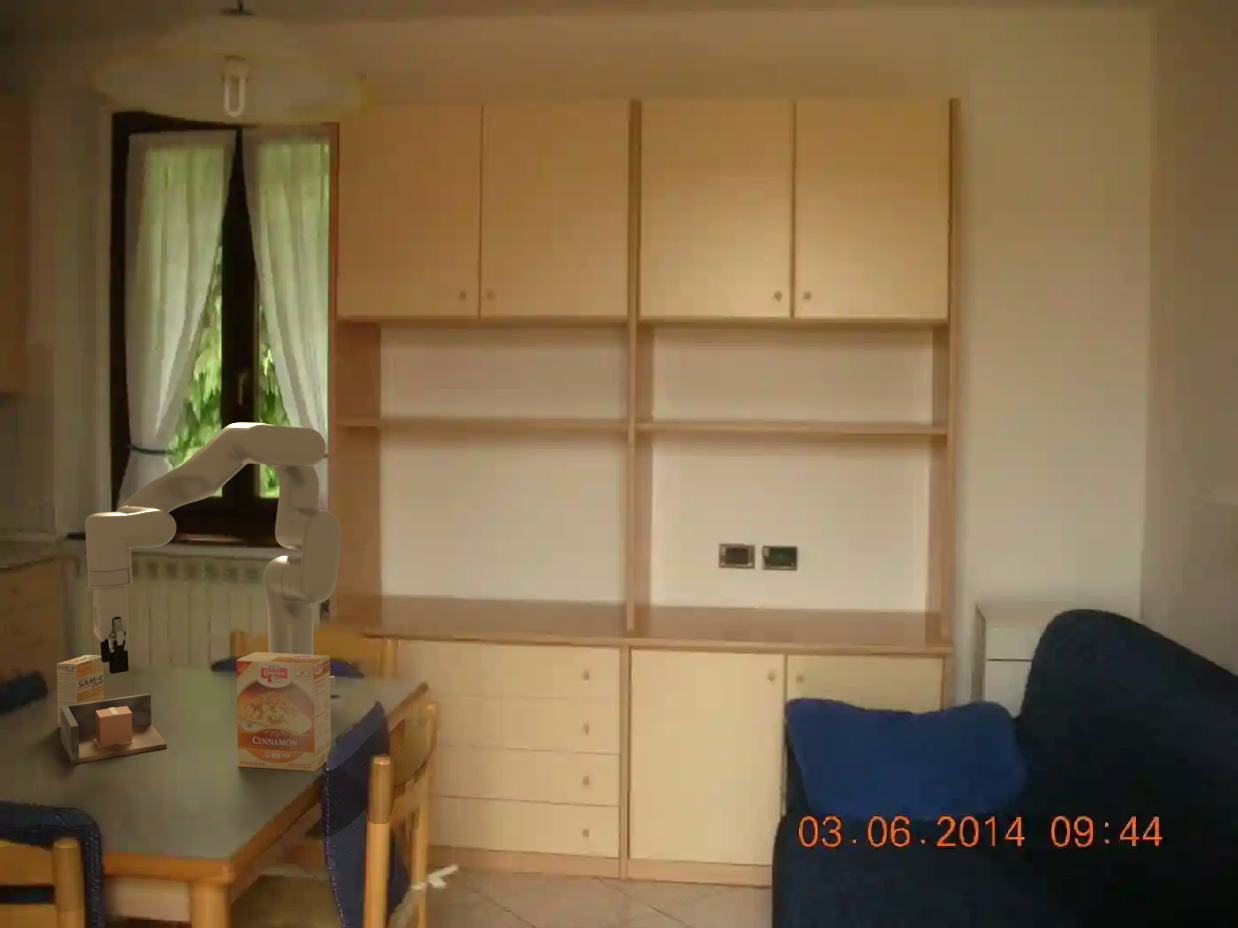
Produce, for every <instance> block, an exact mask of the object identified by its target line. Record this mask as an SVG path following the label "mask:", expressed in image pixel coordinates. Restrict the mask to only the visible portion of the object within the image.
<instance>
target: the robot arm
mask: <svg viewBox="0 0 1238 928" xmlns="http://www.w3.org/2000/svg"><path fill="white" fill-rule="evenodd" d="M326 449H327V445H326V442H325V438H324V437H323V436H322V434H321V433H320V432H319V431H317V430H316V429H314V428H311V427H304V426H303V427H301V426H300V427H299V426H288V425H287V426H286V425H278V424H269V423H268V424H267V423H262V422H261V423H260V422H235V423H230V424H228V425H226V426H225V427H224V428H222V429H221V430H220V431H219V432H218V433H217V434H216V435H214V436H213V437H212V438H211V439H210V440H208V442H207V443H206V444H204V445H203V446H202V447H200V449H199V450H197V451H196V452H195V453H194V454H193V455H192V456H191V457H190V458H188V459H187V460H186V461H184V462H183V463H182V464H180V465H179V466H177V467H176V468H173V469H172V470H170V471H168V472H167V473H165V474H163V475H161V476H159V477H157V478H155V479H154V480H152V481H150V482H149V483H147V484H145V485H144V486H143V487H141V488H140V489H138V490H137V491H136V492H135V493H134V494H132V495H131V496H130V497H129V498H128V499H127V500H126V501H124V503H122V504H121V505H120V506H119V507H118V508H117V509H116V510H115V511H111V512H110V511H109V512H108V511H105V512H96V513H93V514H89V515H88V516H87V518H85V522H84V527H85V546H86V564H87V567H86V568H87V582H88V583H87V585H88V588H89V589H93V594H92V595H93V596H92V597H93V599H92V600H93V601H92V602H93V603H92V604H93V605H92V607H93V633H94V635H95V636H96V637H97V639H98V640H99V641H100V656H101V661H102V662H103V663H108V665H109V666H108V668H109V669H108V671H109V673H110V674H120V673H126V672H129V668H130V667H129V650H128V644H127V638H128V637H129V633H130V630H129V629H130V627H129V624H130V623H129V606H128V603H129V602H128V592H127V591H128V589H127V587H128V586H131V585H133V567H132V549H133V548H158V547H162V546H165V545H166V544H168V543H169V542H170V541H171V540H172V539H173V538H174V536H175V535H176V532H177V523H176V520H175V518H174V517H173V516H172V515H171V514H170V512H171V511H173V510H175V509H178V508H179V507H181V506H185V505H188V504H191V503H194V502H197V501H201V500H205V499H207V498H209V497H211V496H213V495H215V494H216V493H217V492H218V491H219V490H221V488H222V487H224V486H225V484H226V483H228V481H230V480H231V479H232V478H234V476H235V475H236V474H238V472H240V471H241V470H242V469H243V468H244V467H245V466H247V465H248V464H250V465H251V464H253V465H269V466H271V468H272V469H273V471H274V473H275V474H276V477H277V479H278V483H279V485H278V486H279V490H278V503H277V511H276V519H275V526H274V527H275V529H274V535H275V540H276V542H277V543H278V544H279V545H280V546H281V547H283V548H285V549H287V550H294V551H301V556H296V555H281V556H279V557H275V558H273V559H272V560H271V561H269V563H268V564H267V565H266V567H264V568H265V569H264V570H263V574H262V586H263V591H264V596H265V601H266V607H267V609H266V610H267V627H268V630H267V640H268V643H267V647H268V651H267V653H287V654H307V655H314V617H313V615H314V614H313V610H312V607H311V604H314V605H315V604H321V603H323V602H326V600H328V599H329V598H330V597H331V596H332V594H333V593H334V591H335V589H336V585H337V580H338V575H339V566H340V557H341V549H342V539H343V537H342V536H343V535H342V532H343V531H342V526H341V524H340V521H339V519H338V518H337V516H336V515H335V514H334V513H332V512H331V511H329V510H326V509H322V508H319V503H320V501H319V500H320V481H319V477H318V472H317V471H316V469H315V466H316V465H318V464H319V463H320V462H321V461H322V460H323V458H324V456H325V454H326ZM336 682H337V680H336V676H335V675H330V686H332V685H336Z"/></svg>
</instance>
